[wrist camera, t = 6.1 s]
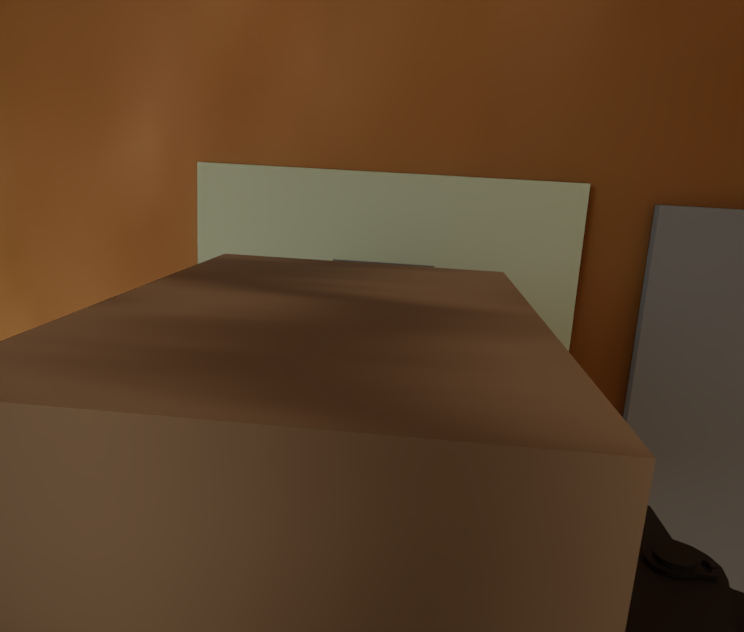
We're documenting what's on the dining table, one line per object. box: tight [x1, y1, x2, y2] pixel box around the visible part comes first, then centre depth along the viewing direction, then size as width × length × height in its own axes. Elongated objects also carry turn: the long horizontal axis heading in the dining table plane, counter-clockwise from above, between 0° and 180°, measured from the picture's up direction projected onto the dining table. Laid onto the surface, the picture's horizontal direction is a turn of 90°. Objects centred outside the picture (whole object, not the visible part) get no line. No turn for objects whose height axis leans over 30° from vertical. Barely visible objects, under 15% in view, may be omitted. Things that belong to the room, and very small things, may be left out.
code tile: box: [197, 162, 590, 351], centre depth 20 cm, size 12×13×1 cm
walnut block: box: [0, 254, 656, 632], centre depth 11 cm, size 7×7×10 cm
